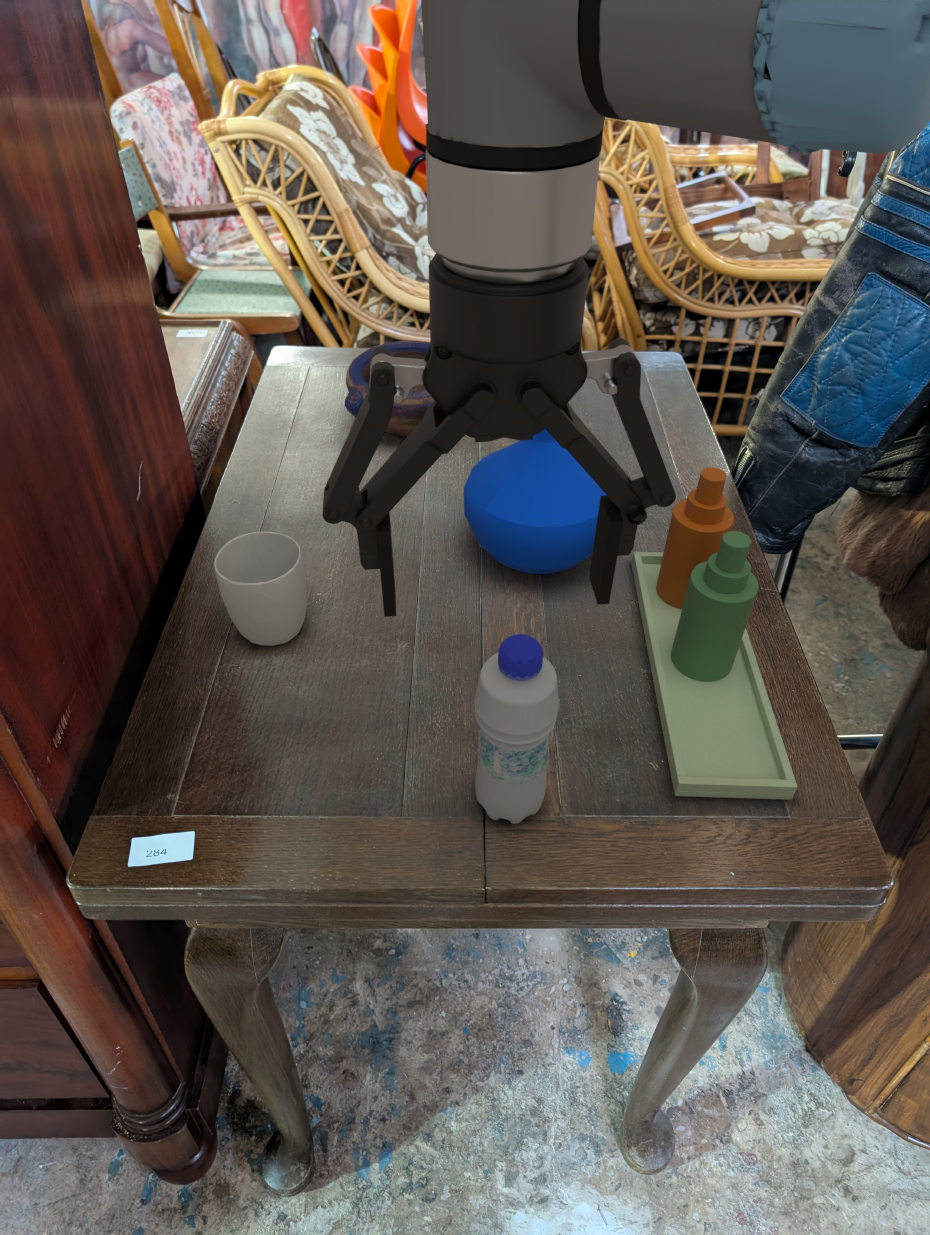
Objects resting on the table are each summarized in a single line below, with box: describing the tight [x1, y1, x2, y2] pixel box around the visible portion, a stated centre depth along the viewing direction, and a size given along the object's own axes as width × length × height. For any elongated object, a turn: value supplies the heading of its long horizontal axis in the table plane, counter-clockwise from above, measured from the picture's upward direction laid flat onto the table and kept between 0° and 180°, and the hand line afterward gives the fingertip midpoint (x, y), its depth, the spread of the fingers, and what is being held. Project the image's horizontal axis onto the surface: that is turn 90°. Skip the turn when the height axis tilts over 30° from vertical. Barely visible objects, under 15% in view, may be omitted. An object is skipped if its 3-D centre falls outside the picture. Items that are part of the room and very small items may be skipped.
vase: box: [463, 429, 606, 575], centre depth 93 cm, size 18×18×19 cm
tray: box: [630, 551, 798, 801], centre depth 84 cm, size 34×11×2 cm, turn 178°
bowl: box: [343, 339, 435, 437], centre depth 118 cm, size 18×18×10 cm
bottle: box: [473, 633, 560, 825], centre depth 65 cm, size 7×7×20 cm
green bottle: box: [671, 530, 760, 682], centre depth 79 cm, size 6×6×16 cm
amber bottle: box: [656, 466, 735, 609], centre depth 87 cm, size 6×6×16 cm
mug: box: [213, 531, 308, 647], centre depth 87 cm, size 13×9×10 cm
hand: (495, 596), depth 51 cm, fingers open, 13 cm apart
